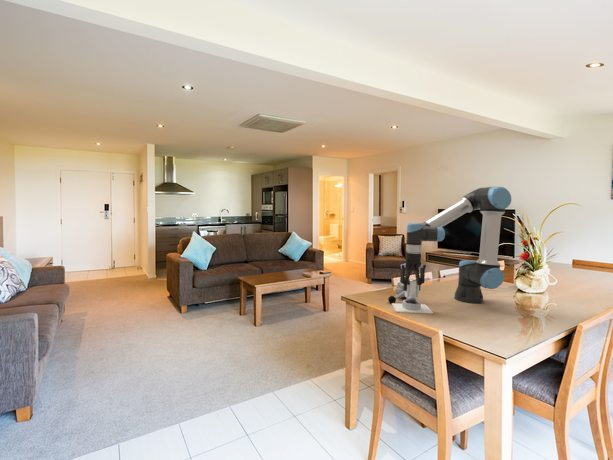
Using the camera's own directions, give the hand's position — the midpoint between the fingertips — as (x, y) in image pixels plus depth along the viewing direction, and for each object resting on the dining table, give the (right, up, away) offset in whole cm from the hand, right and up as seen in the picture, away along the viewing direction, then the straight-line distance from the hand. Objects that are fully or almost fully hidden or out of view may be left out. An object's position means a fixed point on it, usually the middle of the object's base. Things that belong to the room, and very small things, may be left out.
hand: (411, 296), depth 170 cm
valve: (-2, -6, +17) cm, 18 cm away
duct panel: (0, -6, 0) cm, 6 cm away
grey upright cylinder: (0, -3, 0) cm, 3 cm away
